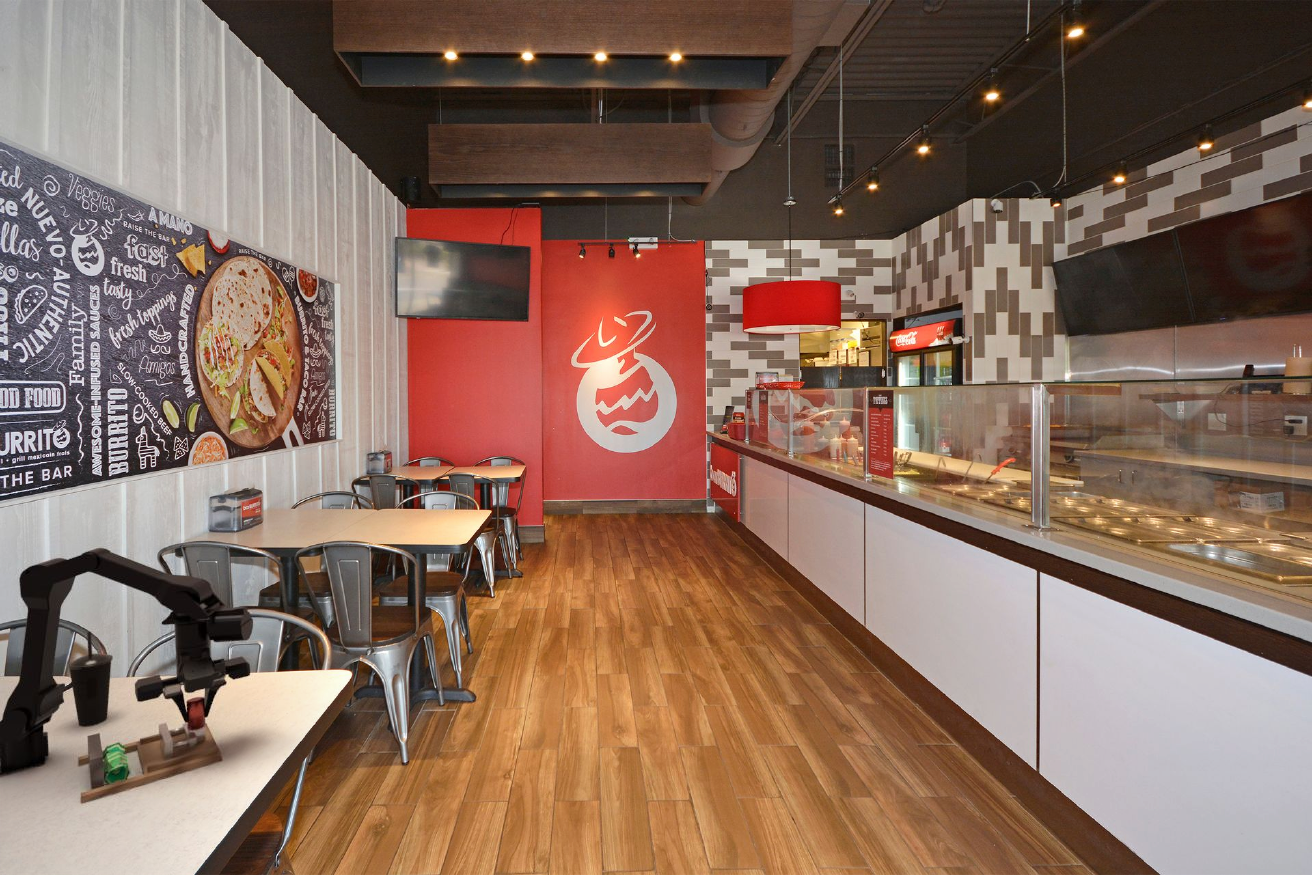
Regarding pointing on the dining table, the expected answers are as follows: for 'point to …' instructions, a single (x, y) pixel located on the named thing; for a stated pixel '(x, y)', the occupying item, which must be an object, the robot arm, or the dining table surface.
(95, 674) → the drinking cup
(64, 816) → the dining table surface
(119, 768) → the candy
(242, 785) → the dining table surface
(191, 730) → the lever
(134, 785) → the wooden vise
